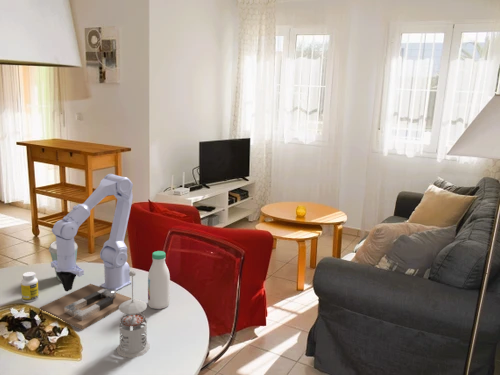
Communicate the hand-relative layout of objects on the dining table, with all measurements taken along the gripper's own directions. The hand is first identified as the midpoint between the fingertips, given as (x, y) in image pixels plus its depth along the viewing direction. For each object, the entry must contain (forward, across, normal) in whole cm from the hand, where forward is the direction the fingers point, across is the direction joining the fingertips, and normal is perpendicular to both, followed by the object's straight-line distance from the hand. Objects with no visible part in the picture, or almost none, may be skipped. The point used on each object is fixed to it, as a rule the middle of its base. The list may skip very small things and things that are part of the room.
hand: (68, 289), depth 150 cm
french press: (+6, +37, -7) cm, 38 cm away
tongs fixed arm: (+4, +13, 0) cm, 14 cm away
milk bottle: (+6, +27, +17) cm, 32 cm away
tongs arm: (+4, +10, +2) cm, 11 cm away
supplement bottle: (+6, -14, -5) cm, 16 cm away
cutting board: (+5, +7, +2) cm, 9 cm away
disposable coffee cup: (+6, -18, +13) cm, 23 cm away
